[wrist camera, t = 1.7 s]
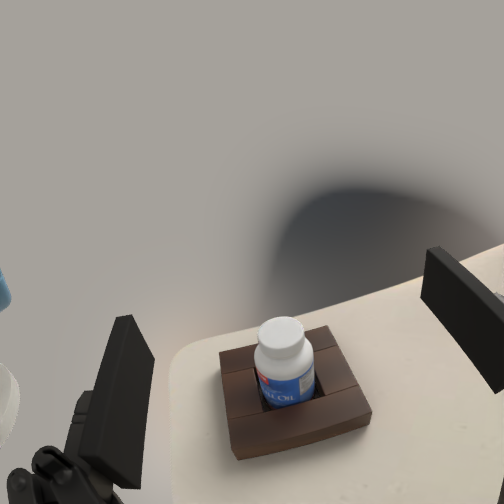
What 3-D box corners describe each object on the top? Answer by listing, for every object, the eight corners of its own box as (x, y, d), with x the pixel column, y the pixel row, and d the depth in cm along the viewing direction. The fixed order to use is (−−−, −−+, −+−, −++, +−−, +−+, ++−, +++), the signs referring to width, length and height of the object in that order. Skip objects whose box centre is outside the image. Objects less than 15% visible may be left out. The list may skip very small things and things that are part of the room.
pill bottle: (254, 403, 31) (234, 341, 26) (281, 369, 34) (269, 304, 29) (299, 423, 27) (291, 362, 23) (324, 385, 31) (322, 319, 26)
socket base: (223, 365, 36) (218, 351, 35) (327, 339, 37) (327, 324, 36) (237, 460, 25) (231, 450, 23) (369, 424, 25) (372, 411, 24)
